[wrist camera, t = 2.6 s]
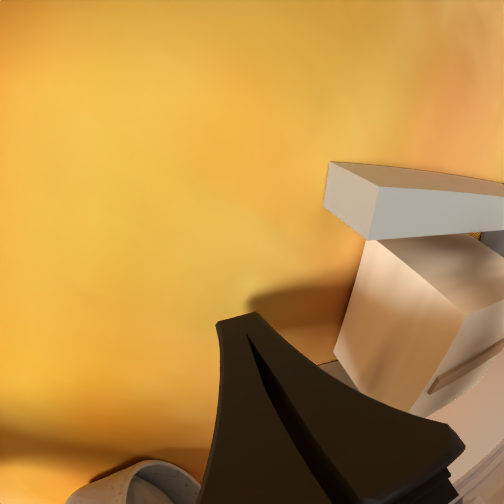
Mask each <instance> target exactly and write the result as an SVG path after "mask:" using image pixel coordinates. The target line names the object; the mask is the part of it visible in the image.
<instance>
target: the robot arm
mask: <svg viewBox="0 0 504 504" xmlns="http://www.w3.org/2000/svg"><path fill="white" fill-rule="evenodd" d="M215 326H216V330H217V335H218V339H219V346H220V384H219V398H218V407H217V415H216V422H215V429H214V434H213V439H212V444H211V449H210V454H209V458H208V463H207V466H206V470H205V474H204V477H203V481H202V484H201V488H200V491H199V495H198V498H197V501H196V503H195V504H504V440H503V441H502V442H501V443H500V444H499V445H497V446H496V447H495V448H494V449H493V450H492V451H491V452H490V453H489V454H488V455H487V456H486V457H485V458H483V459H482V460H481V461H480V462H479V463H478V464H477V465H475V466H474V467H473V468H472V469H471V470H469V471H468V472H467V473H466V474H465V475H464V476H462V477H461V478H460V479H458V480H457V481H456V482H454V483H453V484H451V482H450V481H449V479H448V478H449V477H451V474H450V472H449V471H448V469H447V467H448V466H449V465H450V464H451V463H452V462H453V461H454V460H455V459H456V458H457V457H458V456H459V455H461V454H462V452H463V451H464V450H465V445H464V443H463V442H462V440H461V439H460V438H459V437H458V435H457V434H456V432H454V430H452V429H451V428H450V426H449V425H448V424H445V423H441V422H437V421H433V420H429V419H426V418H422V417H419V416H416V415H413V414H410V413H407V412H404V411H401V410H399V409H396V408H393V407H391V406H389V405H387V404H384V403H382V402H380V401H378V400H375V399H373V398H371V397H369V396H366V395H364V394H363V393H361V392H359V391H357V390H355V389H353V388H351V387H350V386H348V385H346V384H345V383H343V382H341V381H339V380H338V379H336V378H335V377H333V376H332V375H330V374H329V373H327V372H326V371H324V370H323V369H321V368H320V367H318V366H317V365H316V364H314V363H313V362H312V361H310V360H309V359H308V358H306V357H305V356H304V355H303V354H301V353H300V352H299V351H298V350H297V349H295V348H294V347H293V346H292V345H291V344H289V343H288V342H287V341H286V340H285V339H284V338H283V337H282V336H280V335H279V334H278V333H277V332H276V331H275V330H274V329H273V328H272V327H271V326H270V325H269V324H268V323H267V322H266V321H265V320H264V319H263V318H262V316H261V315H260V314H259V313H257V312H252V313H249V314H245V315H241V316H237V317H234V318H230V319H226V320H222V321H218V322H217V324H216V325H215Z"/></svg>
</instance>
